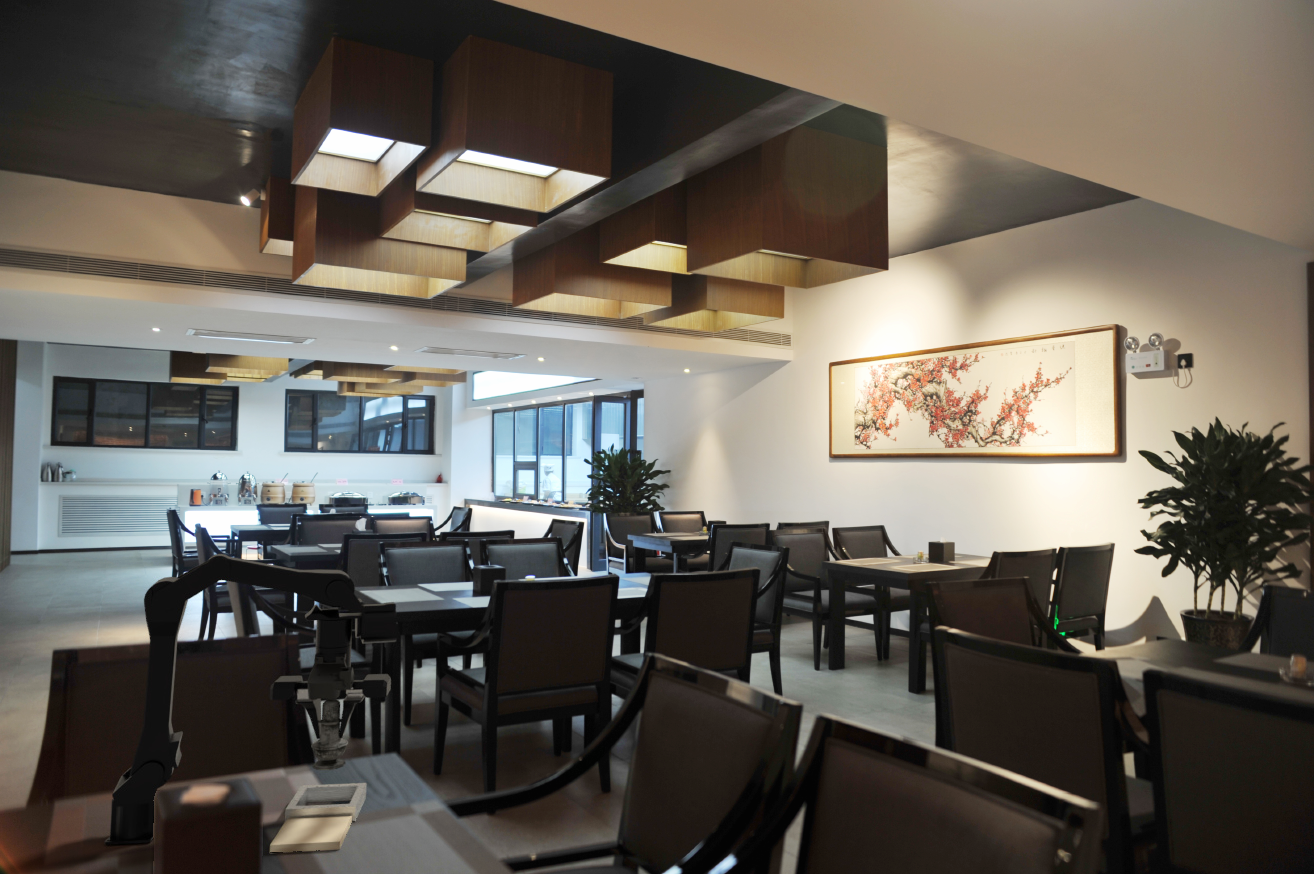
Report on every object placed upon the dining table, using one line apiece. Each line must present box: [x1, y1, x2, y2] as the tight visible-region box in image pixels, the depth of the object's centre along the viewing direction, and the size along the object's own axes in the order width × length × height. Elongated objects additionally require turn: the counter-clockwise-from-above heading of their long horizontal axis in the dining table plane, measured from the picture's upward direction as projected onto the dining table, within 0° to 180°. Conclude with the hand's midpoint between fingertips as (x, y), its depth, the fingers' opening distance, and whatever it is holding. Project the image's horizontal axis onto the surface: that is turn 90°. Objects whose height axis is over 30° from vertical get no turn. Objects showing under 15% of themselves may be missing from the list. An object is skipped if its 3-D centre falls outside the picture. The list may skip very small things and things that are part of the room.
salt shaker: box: [311, 698, 349, 771], centre depth 145 cm, size 6×6×12 cm
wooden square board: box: [269, 816, 353, 853], centre depth 133 cm, size 10×10×1 cm
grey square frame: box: [284, 782, 368, 822], centre depth 144 cm, size 11×11×2 cm
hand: (330, 737), depth 145 cm, fingers closed on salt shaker, 3 cm apart
